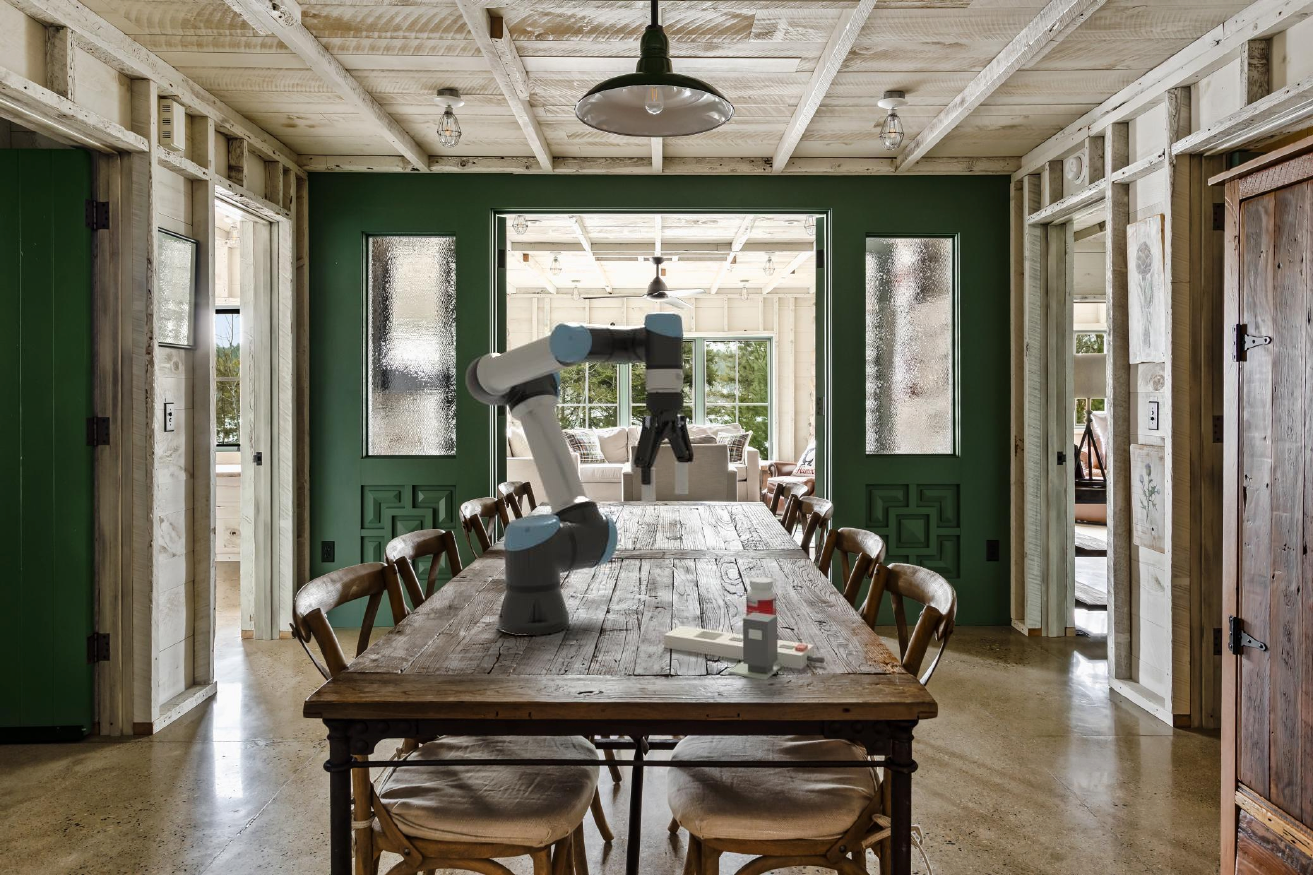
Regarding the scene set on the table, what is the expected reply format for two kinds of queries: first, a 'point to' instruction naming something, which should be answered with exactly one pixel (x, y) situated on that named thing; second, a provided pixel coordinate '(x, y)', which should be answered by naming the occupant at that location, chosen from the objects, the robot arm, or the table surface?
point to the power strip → (736, 646)
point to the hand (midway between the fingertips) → (665, 497)
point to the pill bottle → (761, 597)
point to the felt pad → (743, 671)
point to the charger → (760, 642)
